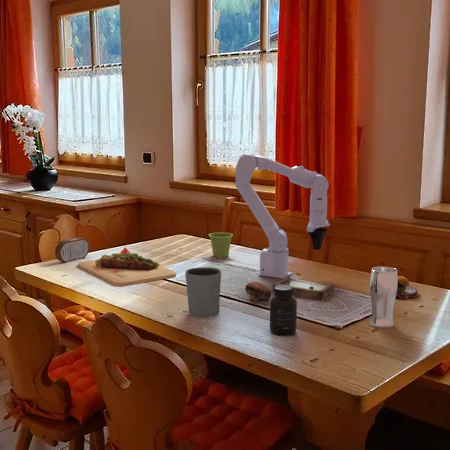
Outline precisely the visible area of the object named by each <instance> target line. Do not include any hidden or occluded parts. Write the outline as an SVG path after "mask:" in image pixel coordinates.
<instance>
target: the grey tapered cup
mask: <svg viewBox="0 0 450 450" xmlns="http://www.w3.org/2000/svg"><path fill="white" fill-rule="evenodd" d="M185 282H186V283H185V284H186V294H187V305H188V306H187V307H188V313H189V316H190V315H191V316H192V317H197V318H212V317H215V316H217V315H219V313H220V302H221V301H220V297H221V283H222V270H221V269H220V268H216V267H209V266H208V267H201V266H200V267H192V268H188V269H186V270H185Z"/></svg>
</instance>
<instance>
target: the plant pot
mask: <svg viewBox="0 0 450 450" xmlns="http://www.w3.org/2000/svg"><path fill="white" fill-rule="evenodd" d="M208 237H209V240H210V242H211V243H210V244H211V251H212V256H213V257H215V258H217V257H218V259H224V258H225V257H226V258H227V257H229V255H230V248H231V242H232V238H233V237H234V236H233V233H230V232H212V233H208Z"/></svg>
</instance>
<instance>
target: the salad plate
mask: <svg viewBox="0 0 450 450" xmlns="http://www.w3.org/2000/svg"><path fill="white" fill-rule="evenodd" d="M408 274H409V272H408V273H406V275H405V276H403V275H399V276H398V275H397V280H398V282H397V293H396V297H398V298H399V299H400V300H407V299H411V298H412V299H414V298H415V299H416V297H417V296H418V289H417V288H415V287H414V286H411V285H410V281H409V280H408V278H407V277H406V276H408Z"/></svg>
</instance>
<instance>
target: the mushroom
mask: <svg viewBox="0 0 450 450" xmlns="http://www.w3.org/2000/svg"><path fill="white" fill-rule="evenodd" d="M244 289H245V292H246V294H247V295H249V298H250V300H252V301H253V302H255V303H258V302H259V300H262V301H263V300H269V299H271V298H272V291H271V288H270V287H268V286H267V285H266V284H264V283H261V282H258V281H251V282H250V281H249V282H248V283H247V284H245V287H244Z"/></svg>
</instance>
